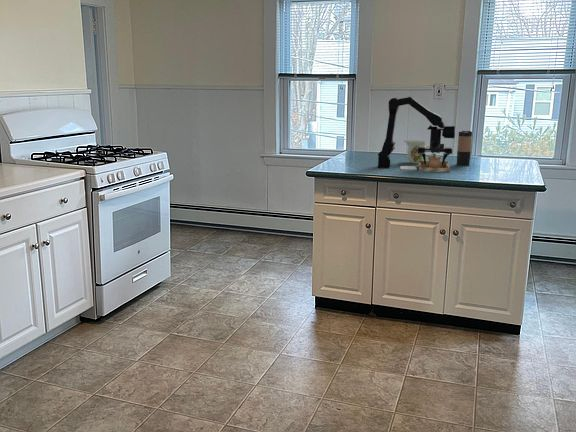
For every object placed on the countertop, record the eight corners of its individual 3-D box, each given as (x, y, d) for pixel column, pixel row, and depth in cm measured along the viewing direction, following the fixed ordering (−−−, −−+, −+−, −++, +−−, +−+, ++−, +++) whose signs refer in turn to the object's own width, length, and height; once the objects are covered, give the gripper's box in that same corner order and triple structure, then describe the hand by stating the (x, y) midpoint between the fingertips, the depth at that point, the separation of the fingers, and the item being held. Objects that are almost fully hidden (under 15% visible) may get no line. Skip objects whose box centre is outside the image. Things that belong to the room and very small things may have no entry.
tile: (400, 170, 319) (400, 168, 319) (400, 167, 328) (400, 165, 328) (416, 170, 318) (416, 169, 318) (416, 168, 326) (416, 166, 326)
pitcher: (433, 165, 335) (435, 142, 332) (402, 164, 338) (403, 141, 334) (432, 162, 346) (433, 139, 342) (402, 161, 348) (403, 139, 345)
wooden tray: (419, 172, 314) (419, 165, 313) (418, 167, 330) (418, 160, 329) (449, 173, 311) (450, 165, 310) (447, 167, 327) (447, 161, 326)
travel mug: (470, 166, 330) (473, 132, 325) (456, 166, 332) (459, 132, 326) (468, 164, 337) (471, 131, 332) (455, 164, 339) (458, 130, 334)
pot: (427, 169, 318) (428, 154, 315) (427, 167, 324) (428, 152, 322) (440, 170, 316) (441, 154, 314) (439, 168, 323) (440, 152, 321)
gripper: (418, 139, 310) (417, 167, 314) (454, 139, 306) (452, 168, 310) (418, 136, 320) (416, 164, 324) (452, 137, 317) (450, 165, 321)
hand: (433, 165), depth 320 cm, fingers open, 9 cm apart
